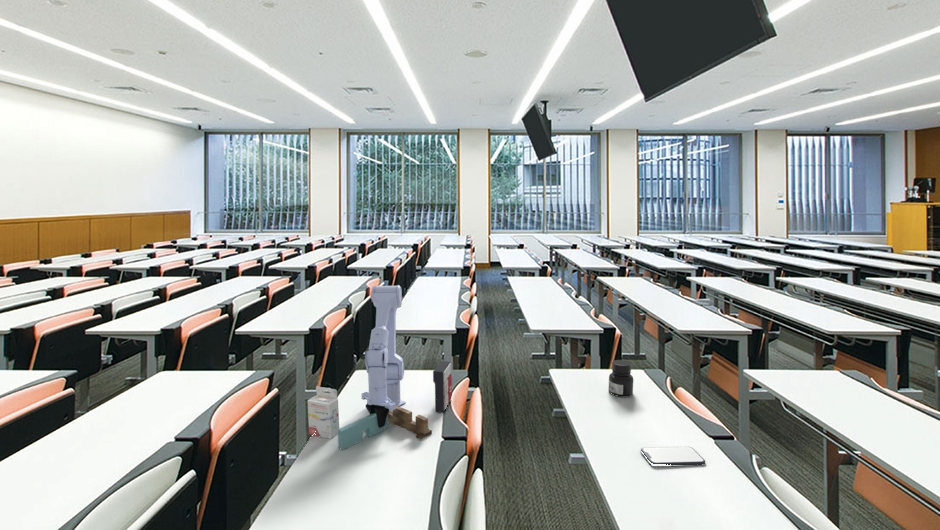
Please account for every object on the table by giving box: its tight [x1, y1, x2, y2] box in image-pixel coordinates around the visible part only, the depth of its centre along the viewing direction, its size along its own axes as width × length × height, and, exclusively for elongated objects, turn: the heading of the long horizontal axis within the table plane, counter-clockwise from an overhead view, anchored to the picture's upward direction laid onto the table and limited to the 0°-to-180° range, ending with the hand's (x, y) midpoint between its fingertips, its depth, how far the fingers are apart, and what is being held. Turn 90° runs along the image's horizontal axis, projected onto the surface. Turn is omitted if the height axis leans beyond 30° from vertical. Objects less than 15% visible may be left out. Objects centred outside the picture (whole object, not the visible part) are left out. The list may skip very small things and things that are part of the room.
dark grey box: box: [432, 360, 453, 413], centre depth 176 cm, size 11×4×15 cm, turn 168°
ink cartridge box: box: [307, 385, 340, 440], centre depth 157 cm, size 9×5×15 cm, turn 71°
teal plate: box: [337, 413, 389, 450], centre depth 155 cm, size 18×2×6 cm, turn 140°
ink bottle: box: [607, 359, 634, 397], centre depth 187 cm, size 10×9×12 cm
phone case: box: [640, 446, 706, 466], centre depth 143 cm, size 9×2×16 cm
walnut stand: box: [388, 406, 433, 441], centre depth 162 cm, size 22×5×6 cm, turn 51°
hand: (379, 425), depth 160 cm, fingers closed on teal plate, 2 cm apart
